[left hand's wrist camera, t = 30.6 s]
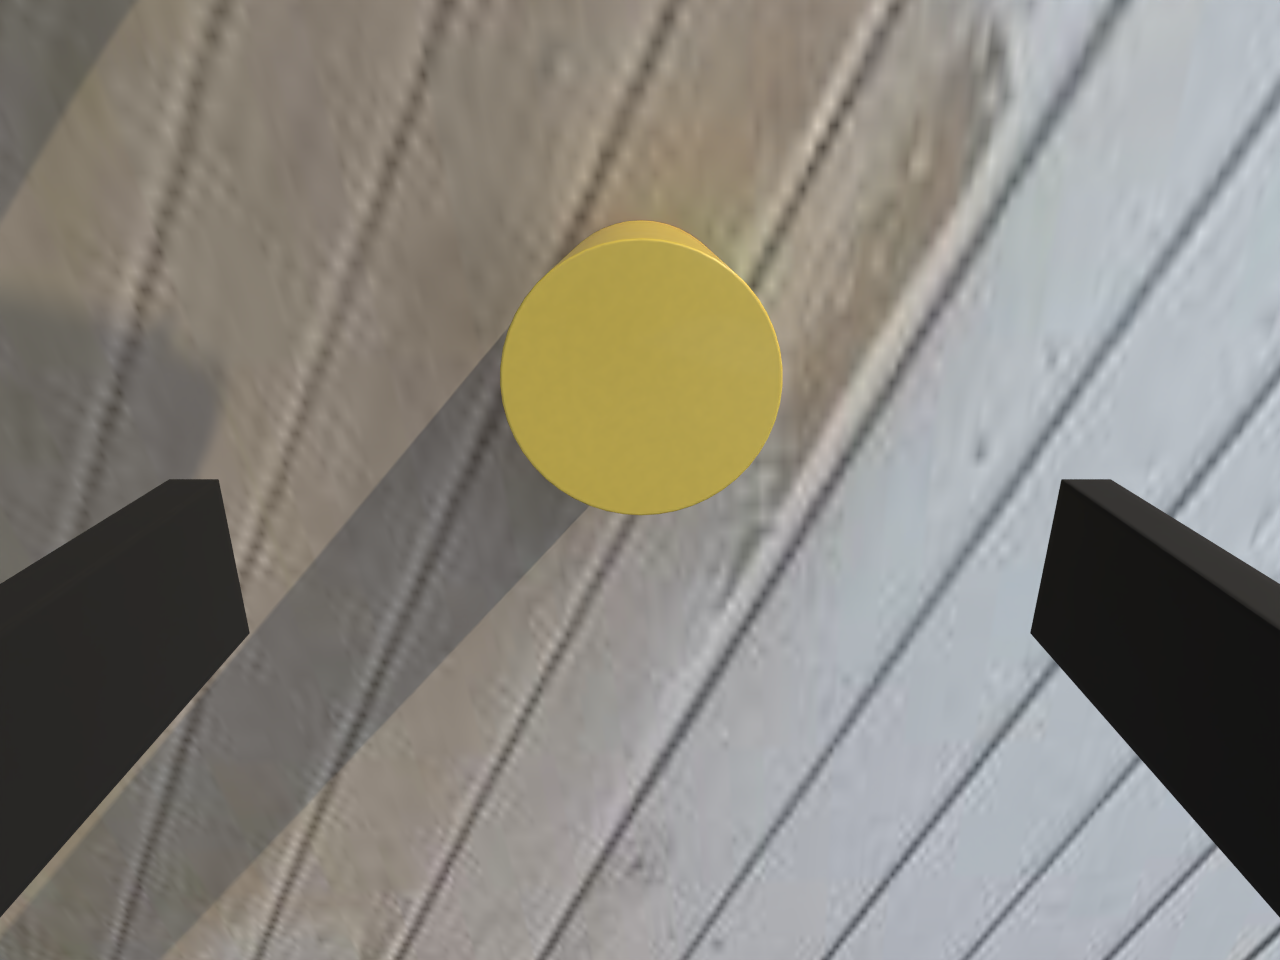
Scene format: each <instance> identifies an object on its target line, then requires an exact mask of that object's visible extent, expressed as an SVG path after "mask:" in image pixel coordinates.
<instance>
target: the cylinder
mask: <svg viewBox="0 0 1280 960" xmlns="http://www.w3.org/2000/svg"><path fill="white" fill-rule="evenodd" d="M500 387H501V395H502V402H503V406H504V410H505V414H506V418H507V421H508V423H509V426H510V428H511V431H512V433H513V436H514V438H515V439H516V441H517V443H518V445H519V446H520V448H521V450H522V452H523V453H524V454H525V456H526V457H527V458H528V460H529V461H530V462H531V464H532V465H533V466H534V467H535V468H536V469H537V470H538V471H539V472H540V473H541V474H542V475H543V476H544V477H545V478H546V479H547V480H548V481H549V482H551V483H552V484H553V485H554V486H556V487H557V488H558V489H559V490H561V491H563V492H564V493H566V494H568V495H569V496H571V497H572V498H574V499H576V500H579V501H581V502H583V503H585V504H587V505H590V506H593V507H596V508H599V509H602V510H605V511H610V512H615V513H621V514H630V515H652V514H662V513H667V512H673V511H677V510H680V509H684V508H687V507H690V506H693V505H695V504H697V503H700V502H702V501H704V500H706V499H708V498H710V497H712V496H713V495H715V494H717V493H718V492H720V491H722V490H723V489H724V488H726V487H727V486H728V485H729V484H731V483H732V482H733V481H735V480H736V479H737V478H738V477H739V476H740V475H741V474H742V473H743V472H744V471H745V470H746V469H747V468H748V467H749V466H750V464H751V463H752V462H753V460H754V459H755V458H756V456H757V455H758V454H759V452H760V451H761V449H762V447H763V446H764V444H765V442H766V440H767V439H768V437H769V435H770V432H771V430H772V427H773V425H774V423H775V420H776V416H777V412H778V409H779V405H780V399H781V392H782V361H781V353H780V348H779V344H778V340H777V337H776V333H775V330H774V328H773V325H772V323H771V321H770V318H769V316H768V314H767V312H766V311H765V309H764V307H763V306H762V304H761V302H760V301H759V299H758V297H757V296H756V295H755V294H754V293H753V291H752V290H751V289H750V288H749V286H748V285H747V284H746V283H745V282H744V281H743V280H742V279H741V278H740V277H739V276H738V275H737V274H736V273H735V272H734V271H733V270H731V269H730V268H729V267H728V266H727V265H726V264H725V263H724V262H722V261H721V260H720V259H719V258H718V257H717V256H716V255H715V254H713V253H712V252H711V251H710V250H709V249H708V248H707V247H706V246H704V245H703V244H702V243H701V242H700V241H698V240H697V239H696V238H694V237H693V236H691V235H690V234H688V233H686V232H684V231H683V230H681V229H679V228H676V227H673V226H671V225H668V224H664V223H659V222H655V221H642V220H640V221H627V222H622V223H618V224H614V225H611V226H608V227H606V228H603V229H601V230H599V231H597V232H595V233H593V234H592V235H590V236H589V237H588V238H586V239H585V240H583V241H582V242H581V243H580V244H579V245H578V246H576V247H575V248H574V249H573V250H572V251H571V252H570V253H569V254H568V255H567V256H566V257H564V258H563V259H562V260H561V261H560V262H559V263H558V264H557V265H556V266H555V267H554V268H553V269H551V270H550V271H549V272H548V273H547V274H546V275H545V276H544V277H543V278H542V279H541V280H540V281H539V282H537V284H536V285H535V286H534V287H533V289H532V290H531V291H530V292H529V293H528V295H527V296H526V297H525V299H524V300H523V302H522V304H521V305H520V307H519V308H518V310H517V312H516V313H515V316H514V318H513V320H512V323H511V325H510V327H509V329H508V332H507V336H506V339H505V343H504V346H503V351H502V358H501V366H500Z"/></svg>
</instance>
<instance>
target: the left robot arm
mask: <svg viewBox="0 0 1280 960" xmlns="http://www.w3.org/2000/svg"><path fill="white" fill-rule="evenodd" d="M248 634H249V628H248V623H247V618H246V613H245V608H244V603H243V598H242V593H241V588H240V583H239V578H238V573H237V569H236V564H235V559H234V554H233V549H232V544H231V539H230V534H229V529H228V524H227V519H226V514H225V509H224V504H223V499H222V494H221V489H220V484H219V480H218V479H169V480H168V481H166V482H164V483H163V484H161V485H160V486H158V487H156V488H155V489H153V490H151V491H150V492H148V493H147V494H145V495H143V496H142V497H140V498H139V499H137V500H135V501H134V502H132V503H130V504H129V505H127V506H126V507H124V508H122V509H121V510H119V511H118V512H116V513H114V514H113V515H111V516H109V517H108V518H106V519H105V520H103V521H101V522H100V523H98V524H97V525H95V526H93V527H92V528H90V529H88V530H87V531H85V532H84V533H82V534H80V535H79V536H77V537H76V538H74V539H72V540H71V541H69V542H67V543H66V544H64V545H63V546H61V547H59V548H58V549H56V550H55V551H53V552H51V553H50V554H48V555H46V556H45V557H43V558H42V559H40V560H38V561H37V562H35V563H34V564H32V565H30V566H29V567H27V568H25V569H24V570H22V571H21V572H19V573H17V574H16V575H14V576H13V577H11V578H9V579H8V580H6V581H4V582H3V583H1V584H0V917H1V916H2V915H3V914H4V912H5V911H6V910H7V909H8V908H9V907H10V906H11V904H12V903H13V902H14V901H15V900H16V899H17V898H18V896H19V895H20V894H21V893H22V892H23V891H24V890H25V889H26V887H27V886H28V885H29V884H30V883H31V882H32V881H33V879H34V878H35V877H36V876H37V875H38V874H39V873H40V871H41V870H42V869H43V868H44V867H45V866H46V865H47V863H48V862H49V861H50V860H51V859H52V858H53V857H54V855H55V854H56V853H57V852H58V851H59V850H60V849H61V847H62V846H63V845H64V844H65V843H66V842H67V841H68V840H69V838H70V837H71V836H72V835H73V834H74V833H75V832H76V830H77V829H78V828H79V827H80V826H81V825H82V824H83V822H84V821H85V820H86V819H87V818H88V817H89V816H90V814H91V813H92V812H93V811H94V810H95V809H96V808H97V806H98V805H99V804H100V803H101V802H102V801H103V800H104V798H105V797H106V796H107V795H108V794H109V793H110V792H111V790H112V789H113V788H114V787H115V786H116V785H117V784H118V783H119V781H120V780H121V779H122V778H123V777H124V776H125V775H126V773H127V772H128V771H129V770H130V769H131V768H132V767H133V765H134V764H135V763H136V762H137V761H138V760H139V759H140V757H141V756H142V755H143V754H144V753H145V752H146V751H147V749H148V748H149V747H150V746H151V745H152V744H153V743H154V741H155V740H156V739H157V738H158V737H159V736H160V735H161V734H162V732H163V731H164V730H165V729H166V728H167V727H168V726H169V724H170V723H171V722H172V721H173V720H174V719H175V718H176V716H177V715H178V714H179V713H180V712H181V711H182V710H183V708H184V707H185V706H186V705H187V704H188V703H189V702H190V700H191V699H192V698H193V697H194V696H195V695H196V694H197V692H198V691H199V690H200V689H201V688H202V687H203V686H204V685H205V683H206V682H207V681H208V680H209V679H210V678H211V677H212V675H213V674H214V673H215V672H216V671H217V670H218V669H219V667H220V666H221V665H222V664H223V663H224V662H225V661H226V659H227V658H228V657H229V656H230V655H231V654H232V653H233V651H234V650H235V649H236V648H237V647H238V646H239V645H240V643H241V642H242V641H243V640H244V639H245V638H246V637H247V635H248ZM1031 634H1032V635H1033V637H1034V638H1035V639H1036V640H1037V641H1038V642H1039V643H1040V645H1041V646H1042V647H1043V648H1044V649H1045V650H1046V651H1047V653H1048V654H1049V655H1050V656H1051V657H1052V658H1053V659H1054V661H1055V662H1056V663H1057V664H1058V665H1059V666H1060V667H1061V669H1062V670H1063V671H1064V672H1065V673H1066V674H1067V675H1068V677H1069V678H1070V679H1071V680H1072V681H1073V682H1074V683H1075V685H1076V686H1077V687H1078V688H1079V689H1080V690H1081V691H1082V692H1083V694H1084V695H1085V696H1086V697H1087V698H1088V699H1089V700H1090V702H1091V703H1092V704H1093V705H1094V706H1095V707H1096V708H1097V710H1098V711H1099V712H1100V713H1101V714H1102V715H1103V716H1104V718H1105V719H1106V720H1107V721H1108V722H1109V723H1110V724H1111V726H1112V727H1113V728H1114V729H1115V730H1116V731H1117V732H1118V734H1119V735H1120V736H1121V737H1122V738H1123V739H1124V740H1125V741H1126V743H1127V744H1128V745H1129V746H1130V747H1131V748H1132V749H1133V751H1134V752H1135V753H1136V754H1137V755H1138V756H1139V757H1140V759H1141V760H1142V761H1143V762H1144V763H1145V764H1146V765H1147V767H1148V768H1149V769H1150V770H1151V771H1152V772H1153V773H1154V775H1155V776H1156V777H1157V778H1158V779H1159V780H1160V781H1161V783H1162V784H1163V785H1164V786H1165V787H1166V788H1167V789H1168V790H1169V792H1170V793H1171V794H1172V795H1173V796H1174V797H1175V798H1176V800H1177V801H1178V802H1179V803H1180V804H1181V805H1182V806H1183V808H1184V809H1185V810H1186V811H1187V812H1188V813H1189V814H1190V816H1191V817H1192V818H1193V819H1194V820H1195V821H1196V822H1197V824H1198V825H1199V826H1200V827H1201V828H1202V829H1203V830H1204V832H1205V833H1206V834H1207V835H1208V836H1209V837H1210V838H1211V840H1212V841H1213V842H1214V843H1215V844H1216V845H1217V846H1218V847H1219V849H1220V850H1221V851H1222V852H1223V853H1224V854H1225V855H1226V857H1227V858H1228V859H1229V860H1230V861H1231V862H1232V863H1233V865H1234V866H1235V867H1236V868H1237V869H1238V870H1239V871H1240V873H1241V874H1242V875H1243V876H1244V877H1245V878H1246V879H1247V881H1248V882H1249V883H1250V884H1251V885H1252V886H1253V887H1254V889H1255V890H1256V891H1257V892H1258V893H1259V894H1260V895H1261V896H1262V898H1263V899H1264V900H1265V901H1266V902H1267V903H1268V904H1269V906H1270V907H1271V908H1272V909H1273V910H1274V911H1275V912H1276V914H1277V915H1278V916H1279V917H1280V584H1279V583H1277V582H1276V581H1274V580H1272V579H1271V578H1269V577H1267V576H1266V575H1264V574H1263V573H1261V572H1259V571H1258V570H1256V569H1255V568H1253V567H1251V566H1250V565H1248V564H1246V563H1245V562H1243V561H1242V560H1240V559H1238V558H1237V557H1235V556H1234V555H1232V554H1230V553H1229V552H1227V551H1225V550H1224V549H1222V548H1221V547H1219V546H1217V545H1216V544H1214V543H1213V542H1211V541H1209V540H1208V539H1206V538H1204V537H1203V536H1201V535H1200V534H1198V533H1196V532H1195V531H1193V530H1192V529H1190V528H1188V527H1187V526H1185V525H1183V524H1182V523H1180V522H1179V521H1177V520H1175V519H1174V518H1172V517H1171V516H1169V515H1167V514H1166V513H1164V512H1162V511H1161V510H1159V509H1158V508H1156V507H1154V506H1153V505H1151V504H1150V503H1148V502H1146V501H1145V500H1143V499H1141V498H1140V497H1138V496H1137V495H1135V494H1133V493H1132V492H1130V491H1129V490H1127V489H1125V488H1124V487H1122V486H1120V485H1119V484H1117V483H1116V482H1114V481H1112V480H1111V479H1062V480H1061V484H1060V489H1059V494H1058V499H1057V504H1056V509H1055V514H1054V519H1053V524H1052V529H1051V534H1050V539H1049V544H1048V549H1047V554H1046V559H1045V564H1044V569H1043V573H1042V578H1041V583H1040V588H1039V593H1038V598H1037V603H1036V608H1035V613H1034V618H1033V623H1032V628H1031Z"/></svg>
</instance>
